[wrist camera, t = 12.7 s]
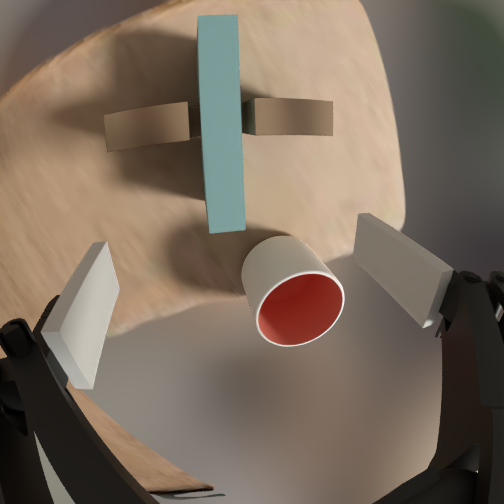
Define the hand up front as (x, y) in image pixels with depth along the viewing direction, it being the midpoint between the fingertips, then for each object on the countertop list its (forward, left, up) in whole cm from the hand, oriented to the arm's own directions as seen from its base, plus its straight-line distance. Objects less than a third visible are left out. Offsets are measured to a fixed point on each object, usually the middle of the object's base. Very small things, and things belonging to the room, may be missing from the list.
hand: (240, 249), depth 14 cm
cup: (+7, -13, -19) cm, 24 cm away
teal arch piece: (0, +6, -19) cm, 20 cm away
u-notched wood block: (0, +6, -19) cm, 20 cm away
